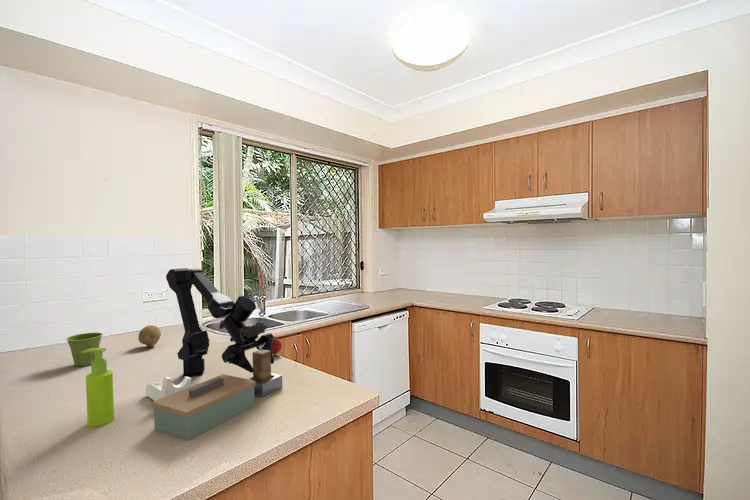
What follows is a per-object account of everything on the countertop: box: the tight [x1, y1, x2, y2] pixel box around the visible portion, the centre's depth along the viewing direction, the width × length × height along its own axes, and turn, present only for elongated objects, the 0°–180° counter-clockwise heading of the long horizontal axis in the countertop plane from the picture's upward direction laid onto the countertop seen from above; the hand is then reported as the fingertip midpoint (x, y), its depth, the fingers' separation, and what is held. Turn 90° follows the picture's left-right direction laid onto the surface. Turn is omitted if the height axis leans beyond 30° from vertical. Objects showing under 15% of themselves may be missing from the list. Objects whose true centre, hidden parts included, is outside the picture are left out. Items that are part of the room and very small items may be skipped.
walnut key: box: [252, 349, 272, 382], centre depth 125 cm, size 4×4×12 cm
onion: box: [271, 335, 282, 356], centre depth 162 cm, size 6×6×8 cm
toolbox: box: [151, 373, 255, 442], centre depth 109 cm, size 14×28×9 cm, turn 152°
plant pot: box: [65, 332, 104, 367], centre depth 153 cm, size 12×12×11 cm
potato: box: [137, 324, 162, 348], centre depth 177 cm, size 9×9×10 cm
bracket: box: [144, 376, 192, 401], centre depth 120 cm, size 13×7×8 cm, turn 50°
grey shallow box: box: [244, 372, 283, 398], centre depth 125 cm, size 9×9×4 cm
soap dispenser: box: [81, 347, 115, 428], centre depth 104 cm, size 6×7×20 cm
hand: (263, 367), depth 125 cm, fingers open, 9 cm apart
